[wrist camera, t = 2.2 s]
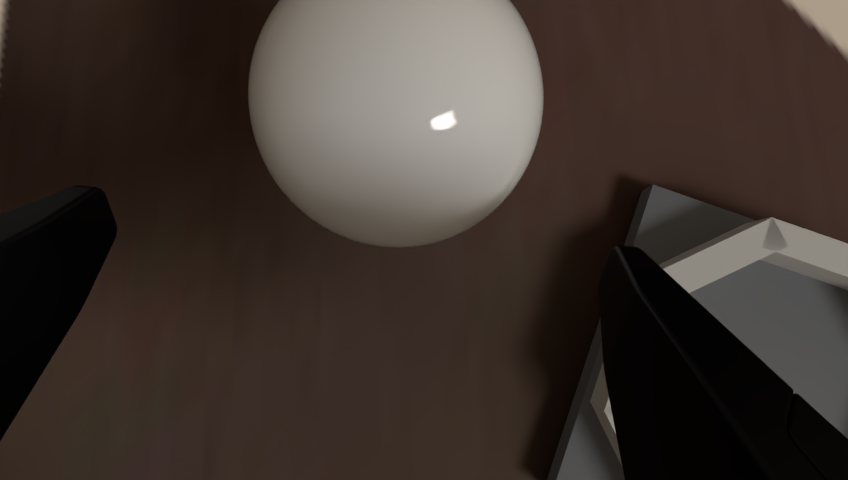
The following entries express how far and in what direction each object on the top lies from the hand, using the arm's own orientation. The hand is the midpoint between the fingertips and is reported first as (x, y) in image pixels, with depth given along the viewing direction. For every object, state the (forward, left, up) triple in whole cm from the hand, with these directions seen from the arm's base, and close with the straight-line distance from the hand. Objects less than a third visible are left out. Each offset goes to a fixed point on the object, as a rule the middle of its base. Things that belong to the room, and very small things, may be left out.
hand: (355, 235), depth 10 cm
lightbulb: (+3, +1, -10) cm, 11 cm away
